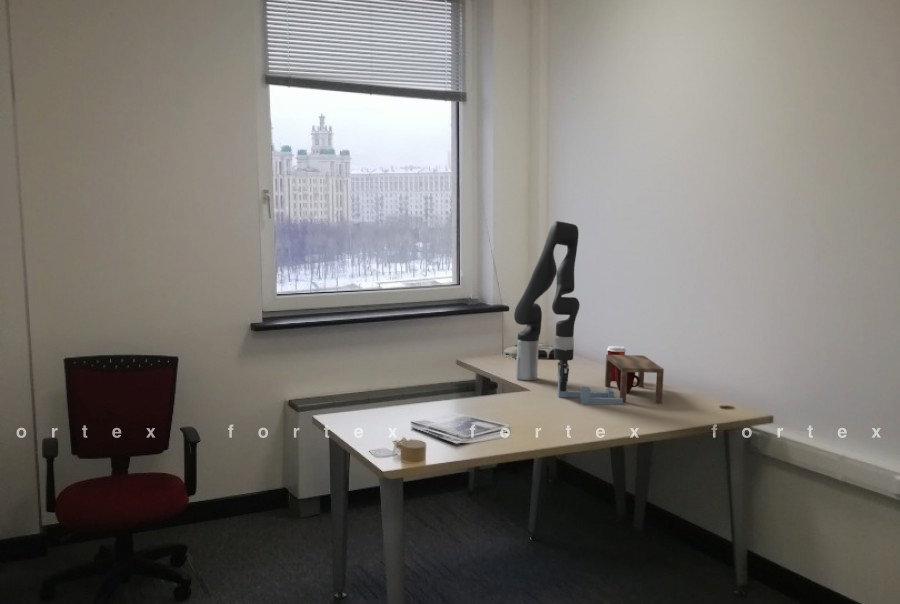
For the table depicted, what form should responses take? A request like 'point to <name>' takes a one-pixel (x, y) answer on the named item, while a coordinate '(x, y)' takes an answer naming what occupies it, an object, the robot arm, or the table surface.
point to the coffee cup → (615, 351)
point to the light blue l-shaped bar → (607, 394)
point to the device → (543, 351)
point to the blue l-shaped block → (587, 399)
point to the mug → (629, 379)
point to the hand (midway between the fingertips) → (562, 389)
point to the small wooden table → (634, 365)
